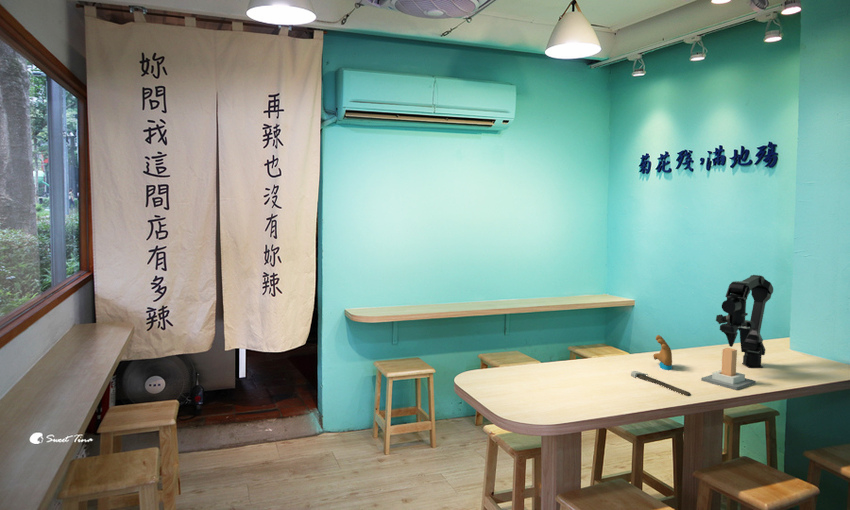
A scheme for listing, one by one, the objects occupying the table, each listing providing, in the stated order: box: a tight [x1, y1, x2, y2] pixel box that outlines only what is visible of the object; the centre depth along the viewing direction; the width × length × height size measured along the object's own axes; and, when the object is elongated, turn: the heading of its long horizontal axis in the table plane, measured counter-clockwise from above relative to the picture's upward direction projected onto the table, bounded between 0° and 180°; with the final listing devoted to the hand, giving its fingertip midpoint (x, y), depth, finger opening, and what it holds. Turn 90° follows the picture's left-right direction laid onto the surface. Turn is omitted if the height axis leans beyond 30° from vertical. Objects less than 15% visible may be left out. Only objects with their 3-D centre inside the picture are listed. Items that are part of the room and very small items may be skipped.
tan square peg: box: [721, 347, 738, 377], centre depth 242 cm, size 4×4×13 cm
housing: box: [700, 369, 756, 391], centre depth 243 cm, size 15×15×4 cm
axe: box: [630, 370, 691, 397], centre depth 241 cm, size 11×2×30 cm
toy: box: [653, 334, 673, 371], centre depth 265 cm, size 12×7×15 cm, turn 168°
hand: (736, 345), depth 253 cm, fingers open, 9 cm apart
